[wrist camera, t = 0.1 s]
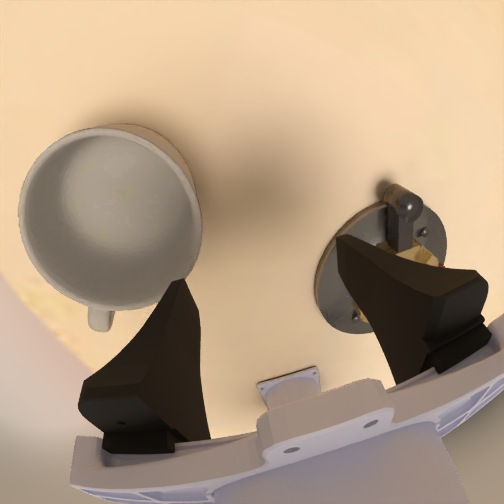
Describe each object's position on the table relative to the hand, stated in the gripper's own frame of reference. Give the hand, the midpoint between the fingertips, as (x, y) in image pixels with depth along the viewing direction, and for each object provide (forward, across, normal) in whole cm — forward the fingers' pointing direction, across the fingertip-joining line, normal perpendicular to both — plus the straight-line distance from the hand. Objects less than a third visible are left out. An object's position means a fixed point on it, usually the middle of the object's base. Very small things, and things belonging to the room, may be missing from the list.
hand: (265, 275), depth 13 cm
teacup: (+10, +9, -2) cm, 14 cm away
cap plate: (+10, -13, +11) cm, 20 cm away
